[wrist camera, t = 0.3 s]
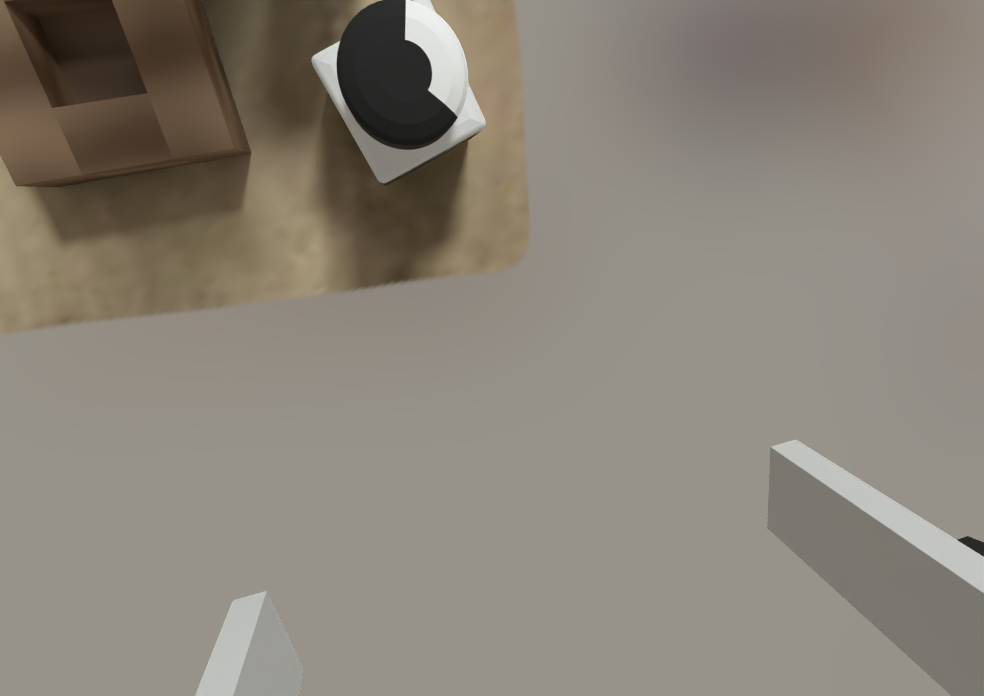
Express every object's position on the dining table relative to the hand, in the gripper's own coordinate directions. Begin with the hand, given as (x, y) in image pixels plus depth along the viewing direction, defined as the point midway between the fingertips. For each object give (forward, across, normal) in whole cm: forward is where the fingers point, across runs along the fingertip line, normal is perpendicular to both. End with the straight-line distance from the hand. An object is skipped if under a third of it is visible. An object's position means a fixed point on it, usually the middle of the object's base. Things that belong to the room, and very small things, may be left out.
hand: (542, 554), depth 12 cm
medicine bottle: (+27, 0, +14) cm, 31 cm away
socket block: (+27, -16, +19) cm, 37 cm away
